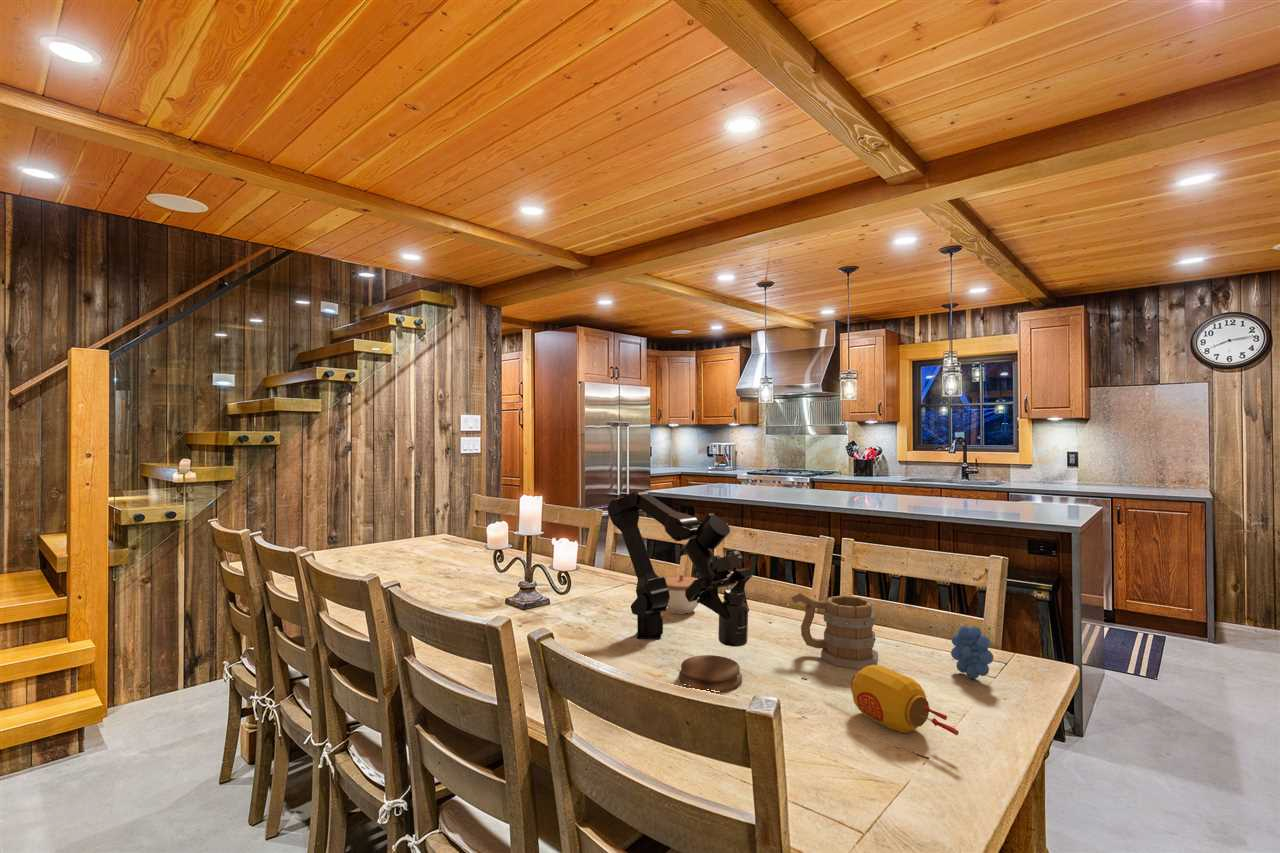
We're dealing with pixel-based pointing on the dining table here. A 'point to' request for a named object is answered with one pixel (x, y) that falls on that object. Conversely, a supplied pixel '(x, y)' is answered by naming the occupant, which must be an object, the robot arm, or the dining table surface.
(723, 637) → the supplement bottle
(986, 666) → the grapes
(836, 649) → the tankard
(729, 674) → the pedestal stand
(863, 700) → the lantern
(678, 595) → the lidded bowl
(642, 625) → the robot arm
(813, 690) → the dining table surface
